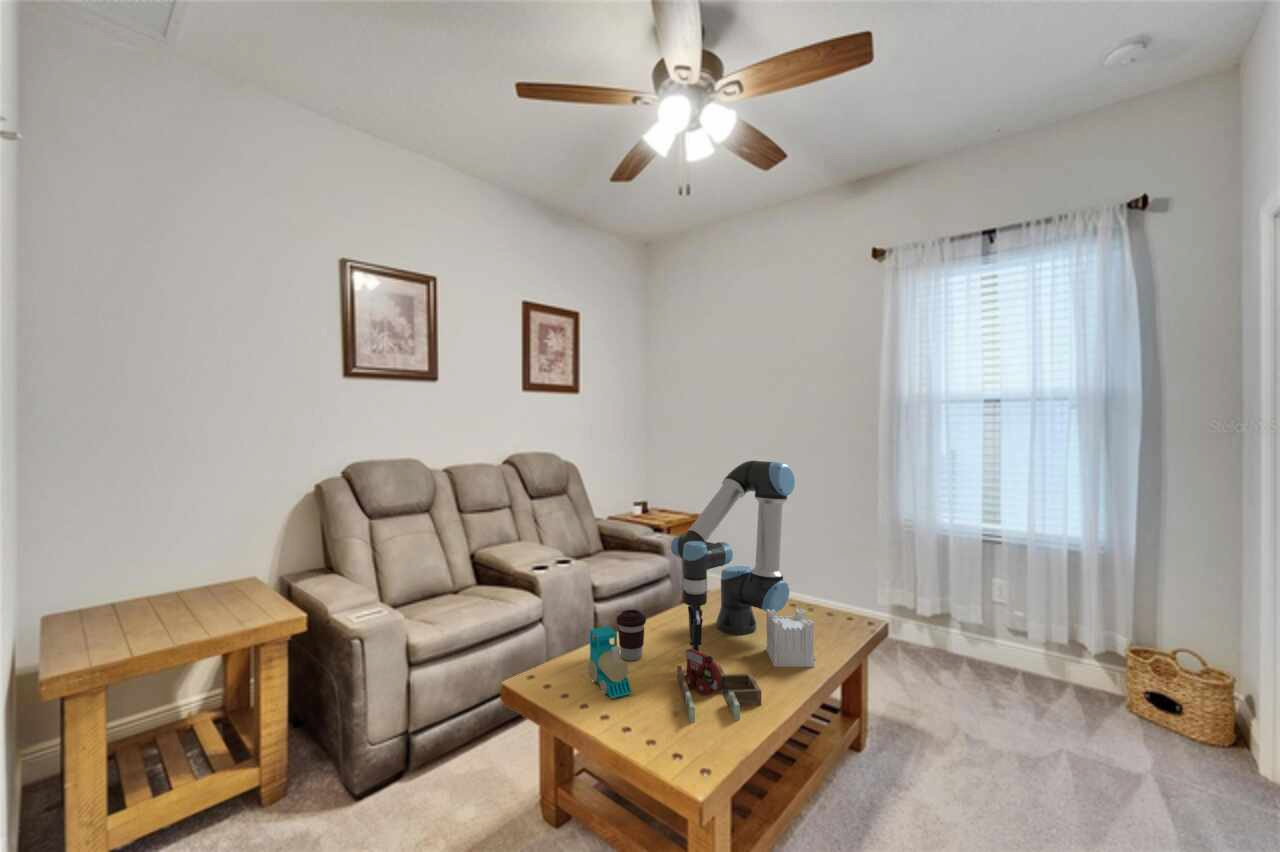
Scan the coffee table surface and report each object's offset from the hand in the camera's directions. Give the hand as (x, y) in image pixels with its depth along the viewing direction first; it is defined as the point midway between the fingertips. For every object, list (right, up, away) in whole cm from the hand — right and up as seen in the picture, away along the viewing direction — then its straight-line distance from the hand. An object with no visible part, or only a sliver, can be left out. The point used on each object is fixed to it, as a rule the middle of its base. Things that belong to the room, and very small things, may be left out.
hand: (695, 663), depth 175 cm
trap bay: (+11, -2, -17) cm, 21 cm away
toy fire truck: (+1, -2, -12) cm, 12 cm away
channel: (+1, -2, -18) cm, 18 cm away
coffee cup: (-21, -2, +10) cm, 23 cm away
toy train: (-27, -3, -10) cm, 29 cm away
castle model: (+34, -2, +8) cm, 34 cm away
